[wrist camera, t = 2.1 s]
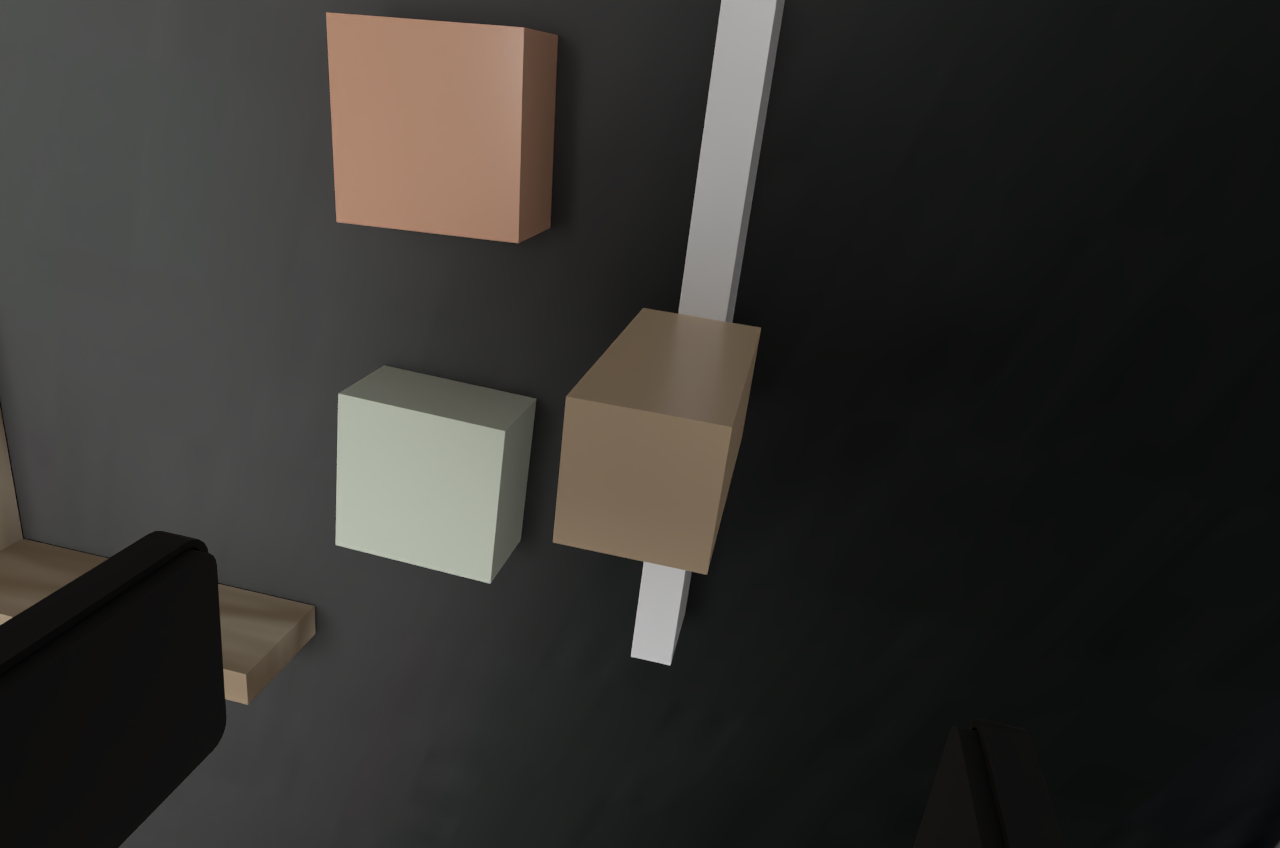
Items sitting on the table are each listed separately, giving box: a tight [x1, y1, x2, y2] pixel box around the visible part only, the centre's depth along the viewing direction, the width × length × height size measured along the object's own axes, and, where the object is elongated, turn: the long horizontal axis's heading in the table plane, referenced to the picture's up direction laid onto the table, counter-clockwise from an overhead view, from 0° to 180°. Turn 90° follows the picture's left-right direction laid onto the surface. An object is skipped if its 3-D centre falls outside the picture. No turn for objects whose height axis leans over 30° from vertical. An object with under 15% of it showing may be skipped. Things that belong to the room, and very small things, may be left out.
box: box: [0, 408, 316, 705], centre depth 26 cm, size 26×13×4 cm, turn 173°
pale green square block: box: [336, 365, 536, 583], centre depth 27 cm, size 5×5×3 cm
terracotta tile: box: [326, 12, 558, 243], centre depth 23 cm, size 5×5×3 cm
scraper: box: [553, 0, 785, 665], centre depth 20 cm, size 18×3×10 cm, turn 173°
